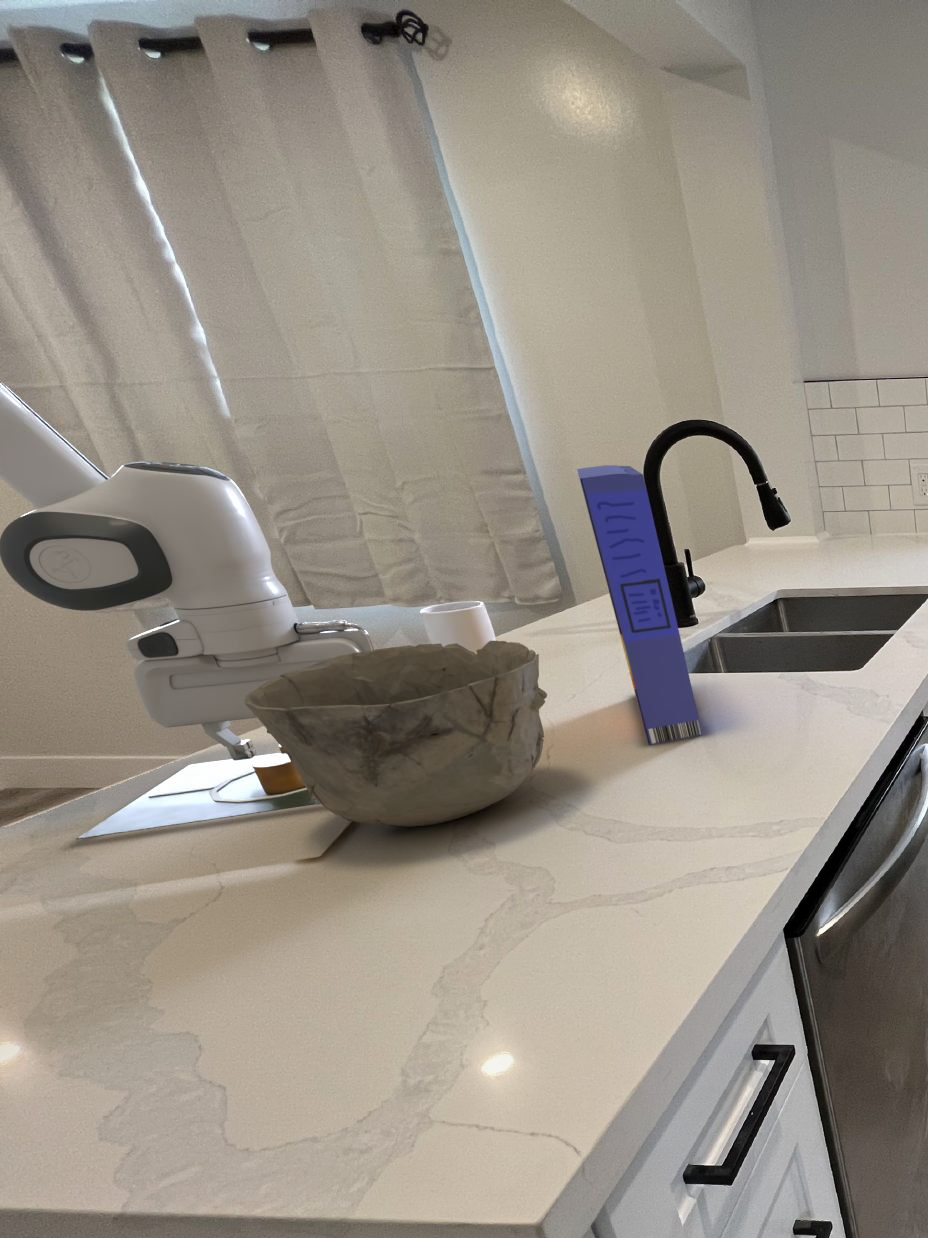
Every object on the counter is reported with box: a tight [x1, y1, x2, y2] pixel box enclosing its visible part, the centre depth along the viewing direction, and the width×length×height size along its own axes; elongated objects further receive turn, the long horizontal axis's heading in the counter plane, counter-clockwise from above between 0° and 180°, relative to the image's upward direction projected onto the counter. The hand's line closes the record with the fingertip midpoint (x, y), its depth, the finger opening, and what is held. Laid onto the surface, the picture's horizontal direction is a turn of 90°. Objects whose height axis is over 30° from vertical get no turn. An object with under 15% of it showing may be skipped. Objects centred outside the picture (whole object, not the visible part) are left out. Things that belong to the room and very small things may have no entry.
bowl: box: [244, 640, 548, 828], centre depth 82 cm, size 22×22×15 cm
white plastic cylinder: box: [420, 600, 497, 654], centre depth 108 cm, size 7×7×15 cm
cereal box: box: [576, 464, 703, 746], centre depth 104 cm, size 22×6×30 cm, turn 28°
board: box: [76, 752, 321, 840], centre depth 92 cm, size 20×20×1 cm
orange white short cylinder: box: [252, 754, 305, 794], centre depth 90 cm, size 4×4×3 cm
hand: (297, 751), depth 95 cm, fingers open, 8 cm apart
